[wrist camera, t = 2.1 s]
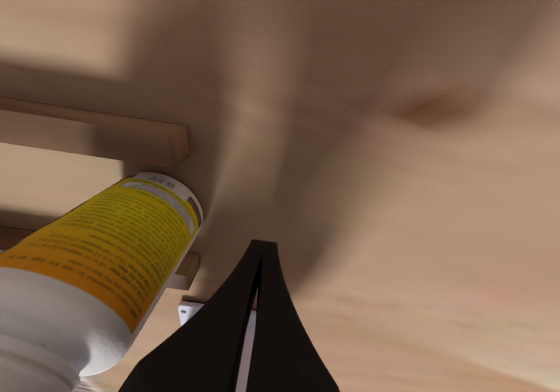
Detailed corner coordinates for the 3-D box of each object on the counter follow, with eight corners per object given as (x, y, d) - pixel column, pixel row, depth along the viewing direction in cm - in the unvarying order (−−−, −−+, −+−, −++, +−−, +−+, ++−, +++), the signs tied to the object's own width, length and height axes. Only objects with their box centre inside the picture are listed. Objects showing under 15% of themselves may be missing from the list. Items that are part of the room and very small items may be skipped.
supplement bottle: (127, 151, 12) (-331, 359, 3) (217, 193, 13) (61, 436, 4) (116, 218, 15) (-154, 437, 6) (192, 249, 16) (63, 472, 7)
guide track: (199, 268, 17) (166, 335, 12) (-43, 234, 16) (-164, 291, 12) (187, 125, 11) (119, 157, 7) (-182, 69, 11) (-505, 64, 6)
